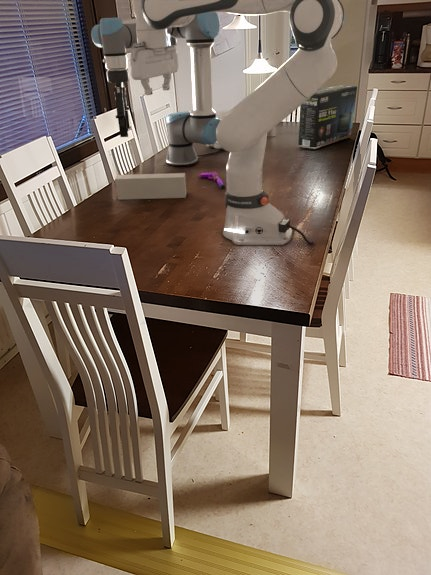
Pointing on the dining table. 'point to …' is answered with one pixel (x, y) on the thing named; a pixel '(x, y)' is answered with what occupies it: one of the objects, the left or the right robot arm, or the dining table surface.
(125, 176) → the bar
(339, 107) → the router box
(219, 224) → the dining table surface
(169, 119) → the left robot arm
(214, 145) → the fossil
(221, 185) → the handgun
